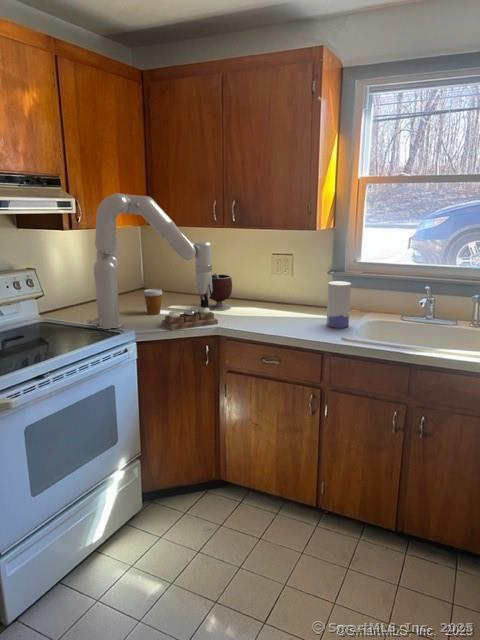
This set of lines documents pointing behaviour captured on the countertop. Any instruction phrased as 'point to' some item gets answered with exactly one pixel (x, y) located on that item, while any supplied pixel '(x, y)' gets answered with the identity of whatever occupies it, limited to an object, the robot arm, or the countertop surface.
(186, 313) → the grey button
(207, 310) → the sage button
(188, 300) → the countertop surface
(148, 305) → the disposable coffee cup
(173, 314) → the cream button
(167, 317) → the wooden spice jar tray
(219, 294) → the mate gourd
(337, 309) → the container
